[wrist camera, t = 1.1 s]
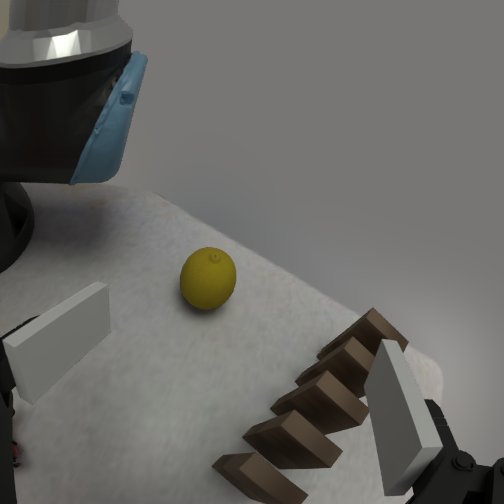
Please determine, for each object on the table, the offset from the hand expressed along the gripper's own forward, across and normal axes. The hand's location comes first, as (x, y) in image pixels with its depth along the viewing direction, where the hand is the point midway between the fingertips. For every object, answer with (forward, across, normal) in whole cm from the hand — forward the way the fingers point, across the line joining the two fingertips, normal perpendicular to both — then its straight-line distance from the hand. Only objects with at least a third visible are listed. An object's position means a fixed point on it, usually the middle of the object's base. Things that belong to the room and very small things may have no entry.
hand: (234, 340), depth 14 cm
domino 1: (+18, +10, -13) cm, 24 cm away
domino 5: (+5, +1, -19) cm, 19 cm away
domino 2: (+15, +8, -14) cm, 22 cm away
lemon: (+19, -7, -8) cm, 21 cm away
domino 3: (+12, +5, -16) cm, 20 cm away
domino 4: (+8, +3, -17) cm, 19 cm away
